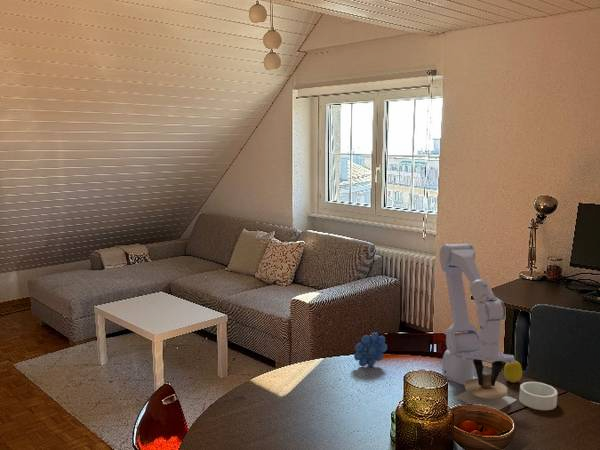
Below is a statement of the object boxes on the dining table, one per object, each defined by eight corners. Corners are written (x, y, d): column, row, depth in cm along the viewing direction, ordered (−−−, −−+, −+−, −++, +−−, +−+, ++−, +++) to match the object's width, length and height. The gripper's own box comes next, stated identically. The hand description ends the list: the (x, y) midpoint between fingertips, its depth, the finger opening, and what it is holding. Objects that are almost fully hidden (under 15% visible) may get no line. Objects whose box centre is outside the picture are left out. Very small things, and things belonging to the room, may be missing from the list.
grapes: (382, 360, 199) (383, 327, 197) (389, 367, 192) (390, 333, 191) (350, 362, 197) (351, 329, 195) (356, 370, 190) (356, 336, 188)
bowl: (512, 402, 168) (513, 388, 168) (529, 392, 175) (530, 378, 174) (545, 415, 161) (546, 400, 160) (562, 404, 167) (563, 390, 166)
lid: (456, 388, 170) (457, 373, 169) (479, 377, 177) (480, 362, 177) (493, 402, 161) (494, 386, 160) (515, 390, 168) (516, 375, 168)
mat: (453, 398, 170) (454, 397, 170) (478, 386, 179) (478, 384, 178) (493, 415, 161) (493, 413, 160) (517, 401, 169) (517, 399, 169)
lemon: (522, 387, 178) (524, 363, 177) (504, 386, 179) (505, 362, 178) (519, 380, 183) (521, 356, 182) (501, 378, 184) (503, 355, 183)
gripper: (465, 344, 164) (463, 388, 166) (518, 347, 162) (514, 391, 164) (462, 335, 170) (459, 378, 173) (512, 338, 169) (509, 381, 171)
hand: (486, 384), depth 169 cm, fingers closed on lid, 3 cm apart
